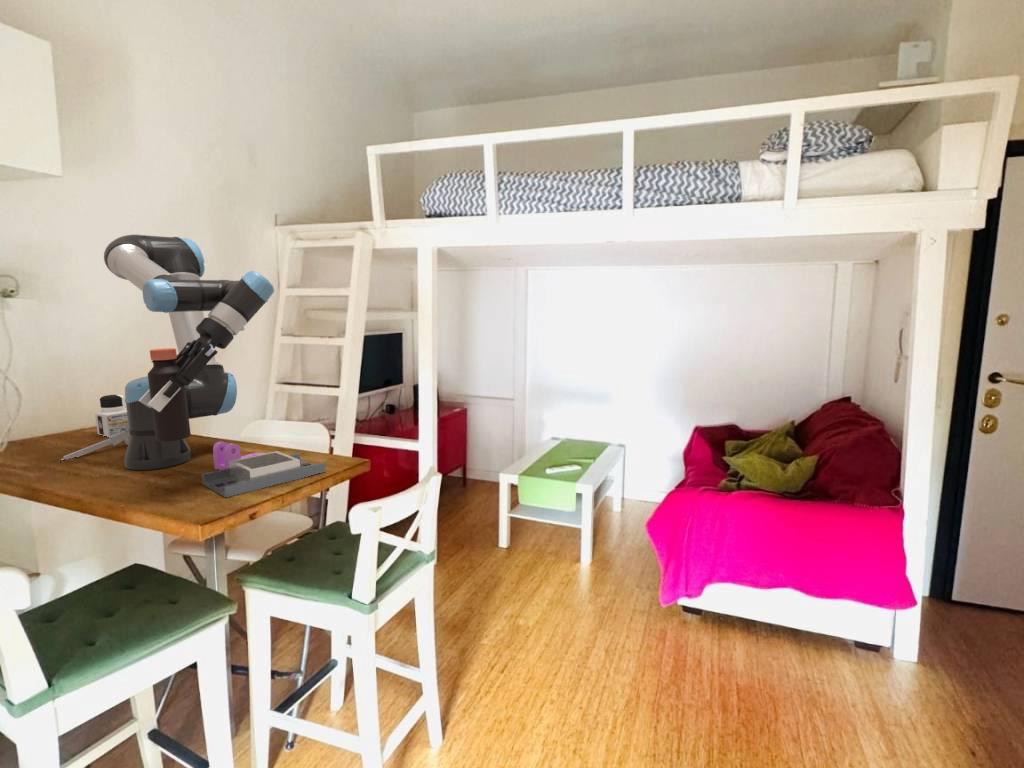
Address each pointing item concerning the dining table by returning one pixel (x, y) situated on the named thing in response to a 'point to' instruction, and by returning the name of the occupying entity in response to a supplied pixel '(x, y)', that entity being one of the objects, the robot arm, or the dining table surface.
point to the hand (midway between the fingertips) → (149, 406)
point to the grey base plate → (259, 473)
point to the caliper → (102, 444)
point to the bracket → (227, 454)
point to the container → (111, 415)
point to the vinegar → (175, 413)
